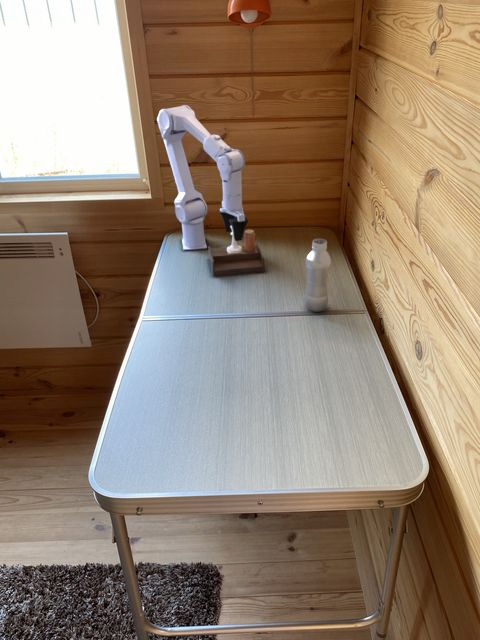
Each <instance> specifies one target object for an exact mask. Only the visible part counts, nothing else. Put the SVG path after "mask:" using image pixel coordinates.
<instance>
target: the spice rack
mask: <svg viewBox="0 0 480 640" xmlns="http://www.w3.org/2000/svg"><path fill="white" fill-rule="evenodd" d="M240 246H241V245H240ZM241 247H242V251H241V252H239V253H229V252H228V251H227V247H218V248H212V247H211V245H208V246H207V248H208V260H209V265H210V270H211V274H212V277H223V276H224V277H225V276H232V275H233V276H234V275H245V274H257V273H265V256H264V254H263V251H262V250H261V247H260V244H259V243H258V242H257V241H255V250H254V251H252V252H247V251H245V250H244V245H243V246H241Z"/></svg>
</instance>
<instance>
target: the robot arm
mask: <svg viewBox="0 0 480 640" xmlns="http://www.w3.org/2000/svg"><path fill="white" fill-rule="evenodd" d="M156 121H157V124H158V128H159V132H160V135H161V139H163V143H164V147H165V149H166V153H167V157H168V160H169V163H170V167H171V170H172V174H173V178H174V181H175V184H176V189H177V192H178V194H177V196H176V198H175V199H174V201H173V203H174V209H175V210H174V211H175V212H174V213H175V216H176V219H177V220H178V221H179V222H180V223H181V229H182V230H181V231H182V239H181V242H182V243H181V244H182V249H183V251H192V250H193V251H194V250H204V249H206V250H207V248H208V246H207V242H206V237H205V230H204V221H205V219H206V218H205V217H206V216H207V214H208V205H207V203H206V200H204V197H203V194H202V193H201V192H199V191H198V190H196V189H195V185H194V182H193V178H192V175H191V172H190V171H191V170H190V167H189V164H188V160H187V157H186V152H185V149H184V146H183V142H182V139H183V137H184V135H186V133H187V132H188V133H189V134H190V135H192V136H193V137H194V138H195V139H196V140H197V141H199V142H200V143H201V144H203V145H202V147H203V151H204V152H206V154H207V155H208V156H210V158H212V160H214V161H215V162H216V166H217V169H218V171H219V174H220V175H219V176H220V178H221V182H222V183H221V184H222V200H221V208H219V210H218V213H219V215H220V216H221V218H222V222H223V225H224V229H225V232H226V233H231V232H232V230H231V227H230V226H232V229H233V234H234V239H235V241H236V242H239V241H242V240H243V238H244V233H245V228H246V226H247V225H248V222H249V219H248V218H247V217H246V215H245V214H244V207H243V188H242V170H243V169H244V168H245V166H246V158H245V155H244V154H243V152H242V151H241V150H240V149H234V148H231V146H229V145H228V144H227V143H226V142H225V141H224V140H223V139H222V138H221V136H220V135H219V134H211V133H210V132H209V130H208V129H206V127H205V126H203V124H201V122H200V121H199V120H198V119H197V117H196V112H195V110H193V109H192V108H191V107H190V106H189V105H187V104H182V105H181V106H174V107H170V108H169V107H168V108H162V109H160V110H159V113H158V116H157V119H156Z"/></svg>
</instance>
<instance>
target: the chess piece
mask: <svg viewBox="0 0 480 640" xmlns="http://www.w3.org/2000/svg"><path fill="white" fill-rule="evenodd" d="M230 227H231V230H232V232H230V236H232V237H231V244H230V245H228V246H227V247H226V248H227V251H228V252H229V253H239V252H241V251H242V247H241V245H239V244H238V241H235V239H234V234H233V229H232V226H230Z"/></svg>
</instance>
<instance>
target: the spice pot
mask: <svg viewBox="0 0 480 640" xmlns="http://www.w3.org/2000/svg"><path fill="white" fill-rule="evenodd" d="M255 245H256V233H255V230H253V229H246V230H245V229H244V232H243V246H244V250H245V251H247V252H252V251H254V250H255Z"/></svg>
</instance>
